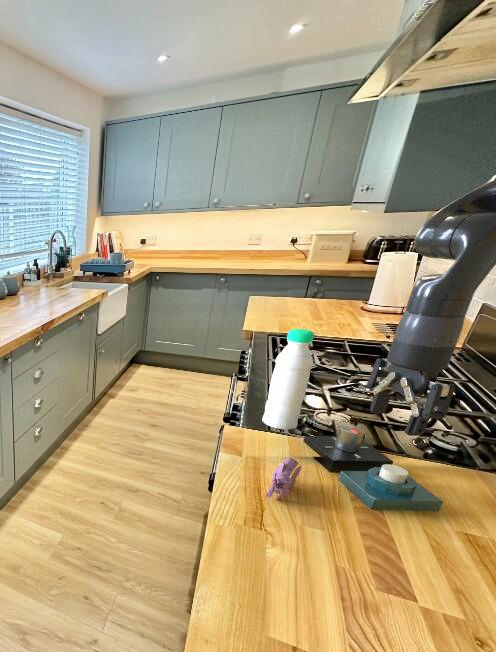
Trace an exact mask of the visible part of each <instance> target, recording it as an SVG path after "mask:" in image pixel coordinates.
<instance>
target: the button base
mask: <svg viewBox="0 0 496 652" xmlns="http://www.w3.org/2000/svg"><path fill="white" fill-rule="evenodd" d="M380 470H381V467H374V468H371V469H369V470H368V471H341V472H340V473H339V476H338V478H337V481H339V482H340V483H341V484H342V485H343V486H344V487H345V488H347V490H349V492H351V493H352V494H353V495H354V496H355V497H356V498H358V499H359V501H361V502H362V503H363V504H364V505H365V506H367V508H369V510H381V511H382V510H384V511H418V512H440V510H441V508H442V506H443V504H444V500H442V499H441V498H439V497H438V496H437V495H435V494H434V493H433V492H431V491H430V490H428V489H427V488H426V487H424V486H423V485H421V484H420V483H419V482H417V480H416V479H414V478H413V477H412V476H411V475H409V474H408V476H407V479H406V481H405V483H404V484H396V483H392V482H388V481H386V480H384V479H382V478H380V477H379V473H380Z"/></svg>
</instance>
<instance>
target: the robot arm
mask: <svg viewBox="0 0 496 652" xmlns="http://www.w3.org/2000/svg"><path fill="white" fill-rule="evenodd" d="M413 243H414V244H413V245H414V249H415V251H416V252H417V253H418V254H419V255H421V256H422V257H426V258H430V259H439V260H452V261H453V263H452V265H451V266H450V267H449V268H448V269H447V270H446V271H445V272H444V273H435V274H427V275H423V276H420V277H419V278H418V279H417V280H416V281H415V283H414V284H413V286H412V289H411V293H410V294H409V297H408V301H407V304H406V306H405V310H404V312H403V314H402V315H401V318H400V320H399V321H398V324H397V327H396V330H395V333H394V336H393V337H392V342H391V344H390V348H389V350H388V353H387V356H386V358H377V359H376V360H375V362H374V365H373V367H372V370H371V372H370V375H369V378H368V380H367V383H366V386H367V388H370V389H372V393H373V397H372V401H371V403H370V409H369V413H372V414H374V415H383V414H385V413H386V411H387V409H388V406H389V403H390V400H391V395H392V394H393V393H394V392H397V393H399V394H400V395H401V396H403V397H405V402H406V403H407V404H408V405H409V406H410V409H411V414H410V416H409V418H408V422H407V424H406V426H405V429H404V434H406V435H407V436H410V437H419V436H421V435H423V434H424V433H425V431H426V429H427V427H428V424H429V422H430V420H431V419H441V420H442V419H445V418H446V416H447V413H448V410H449V407H450V404H451V403H452V402H451V401H452V398H453V396H454V393H455V390H456V386H455V385H454V384H453V383H442V382H439V379H438V377H439V374H440V373H441V372H443V371H444V370H446V369H447V368H448V367H449V365H450V362H451V359H452V357H453V354H454V353H455V350H456V347H457V345H458V342H459V340H460V337H461V334H462V332H463V329H464V325H465V319H466V315H467V314H468V311H469V309H470V306H471V303H472V302H473V298H474V296H475V294H476V291H477V289H478V288H479V287H480V286H481V285H482V283H483V282H484V281H485V279H486V278H487V277H488V275H489V274H490V273H491V271H492V270H493V269H494V268H495V266H496V174H494V175H493V176H491V178H490V179H489V180H487V182H485V183H483V184H482V185H480V186H478V187H476V188H474V189H472V190H470V191H469V192H467V193H466V194H464V195H462V196H461V197H459V198H457V199H456V200H454V201H452V202H451V203H449V204H448V205H446V206H444V207H443V208H441V209H440V210H438V211H436V212H435V213H434V214H432V215H431V216H430V217H429V218H428V219H427V220H426V221H425V222H423V224H422V225H421V227H420V228H419V229H418V231H417V233H416V235H415V236H414V242H413ZM378 379H379V380H378ZM377 380H378V381H377ZM421 396H423V397H421ZM421 405H422V407H423V409H421ZM436 406H437V408H436V410H435V407H436Z"/></svg>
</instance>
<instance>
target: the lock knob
mask: <svg viewBox="0 0 496 652" xmlns="http://www.w3.org/2000/svg"><path fill="white" fill-rule="evenodd" d="M365 434H366V431H365V429H363V428H362V427H359V426H357V425H352V424H341V425H340V426H339V429H338V432H337V435H336V436H337V438H336V442H335V447H336V448H338V449H340V450H342V451H346V452H352V453H354V452H358V451H359V449H360V446H361V443H362V440H364V437H365Z"/></svg>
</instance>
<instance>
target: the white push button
mask: <svg viewBox="0 0 496 652" xmlns="http://www.w3.org/2000/svg"><path fill="white" fill-rule="evenodd" d="M408 475H409V471H408V470H407V469H405V468H403V467H401V466H399V465H396V464H392V465H390V464H385V465H382V467H381V470H380V473H379V477H380V478H382V479H384V480H386V481H388V482H392V483H396V484H404V483H405V481H406V479H407V476H408Z"/></svg>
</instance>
